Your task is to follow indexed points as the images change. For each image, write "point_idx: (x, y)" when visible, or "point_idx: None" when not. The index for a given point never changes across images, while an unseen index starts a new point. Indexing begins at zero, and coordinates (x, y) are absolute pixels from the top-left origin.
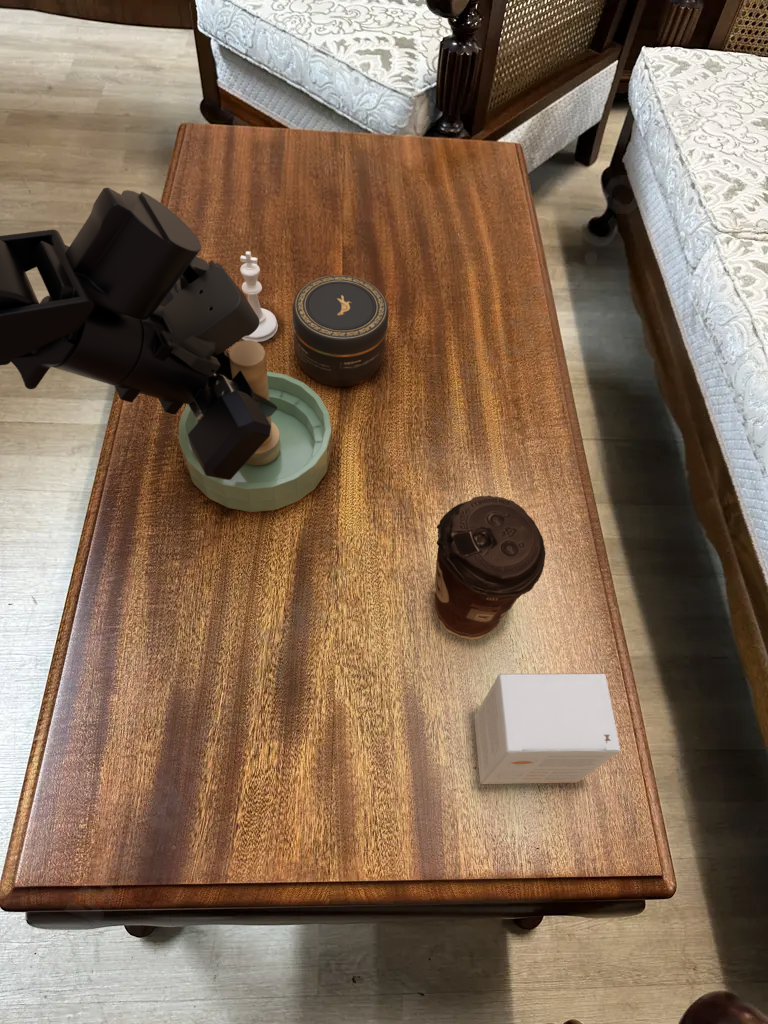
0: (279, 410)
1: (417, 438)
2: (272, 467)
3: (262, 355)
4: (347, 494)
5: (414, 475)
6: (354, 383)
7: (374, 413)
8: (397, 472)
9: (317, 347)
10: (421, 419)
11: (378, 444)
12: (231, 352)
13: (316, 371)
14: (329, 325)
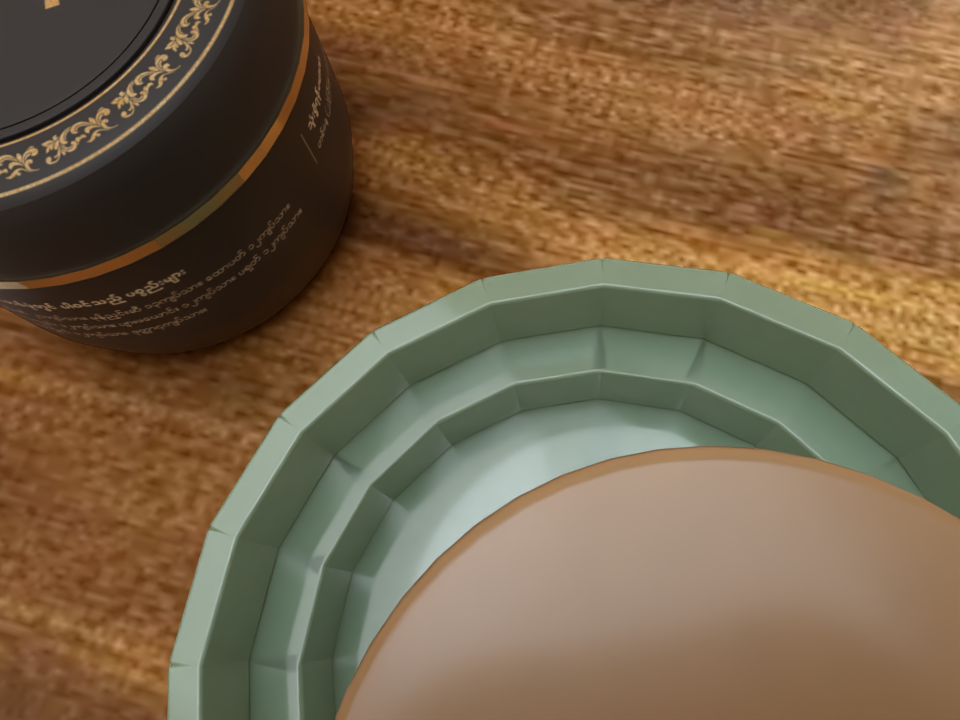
0: (391, 504)
1: (663, 34)
2: None
3: (904, 529)
4: (899, 337)
5: (839, 81)
6: (352, 170)
7: (505, 145)
8: (814, 132)
9: (198, 191)
10: (578, 4)
11: (661, 165)
12: None
13: (267, 280)
14: (107, 60)
